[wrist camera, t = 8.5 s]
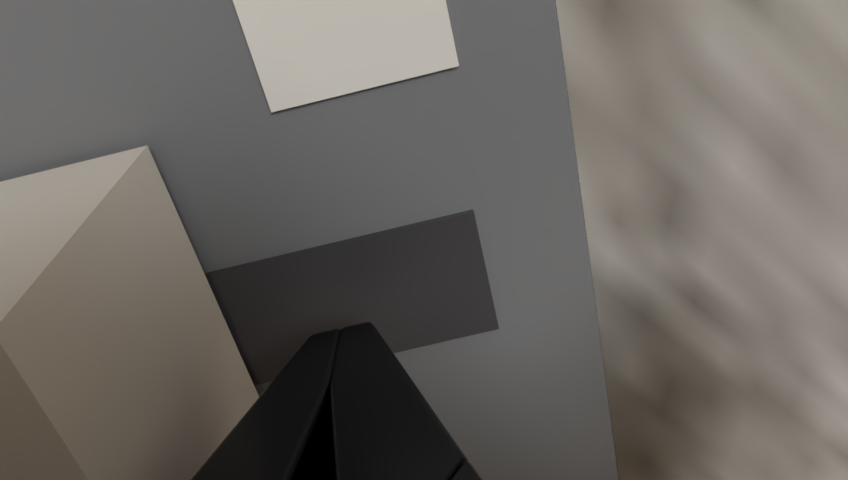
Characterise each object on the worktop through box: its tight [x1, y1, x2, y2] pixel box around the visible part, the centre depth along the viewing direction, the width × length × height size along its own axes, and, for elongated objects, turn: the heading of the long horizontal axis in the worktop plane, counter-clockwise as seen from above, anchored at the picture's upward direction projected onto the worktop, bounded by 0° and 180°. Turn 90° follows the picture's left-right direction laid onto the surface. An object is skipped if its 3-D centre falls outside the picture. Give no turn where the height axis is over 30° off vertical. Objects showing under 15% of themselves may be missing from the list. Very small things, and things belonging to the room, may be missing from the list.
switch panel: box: [0, 0, 619, 480], centre depth 12 cm, size 12×18×3 cm, turn 103°
